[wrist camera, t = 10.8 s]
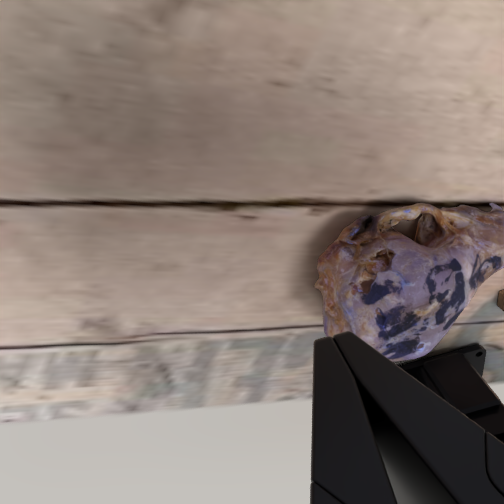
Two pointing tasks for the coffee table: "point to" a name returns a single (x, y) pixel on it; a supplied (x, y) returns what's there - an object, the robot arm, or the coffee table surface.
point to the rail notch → (501, 299)
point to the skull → (408, 275)
